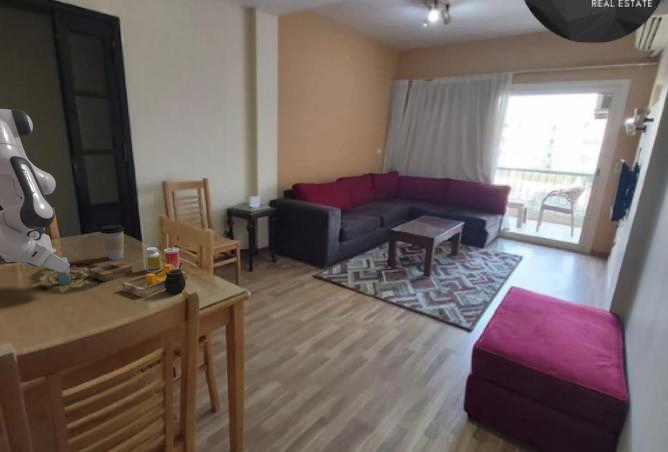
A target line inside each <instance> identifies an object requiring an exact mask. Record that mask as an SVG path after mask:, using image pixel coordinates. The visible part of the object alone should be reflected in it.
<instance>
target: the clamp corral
mask: <svg viewBox="0 0 668 452" xmlns="http://www.w3.org/2000/svg"><path fill="white" fill-rule="evenodd" d="M163 270H164V267H163V268H160V270H157V271H154V272H150V273H151V274H155V275H156V276H157V275H158V274H159V273H161V272H163ZM147 274H148V273H146V274H144V275H140V276H138V277H135V278H133V279H129V280H126V281H124V282H122V283H121V286H122V291H123V292H126V293H130V294H131V295H135V296H138V297H139V298H145V297H148V296H150V295H152V294H154V293H157V292H160V291H162V290H164V289H165V286H164V284H165V280H166V279H165V280H162V281H159V282H157V283H154V284H152V285H149V286H147V285H146V284H147V283H146V275H147ZM182 274H183V277H184V279H185V281H186V280H188V273H187V272H186V271H184V270H182ZM142 285H146V286H144V287H141V286H142ZM165 290H166V289H165Z"/></svg>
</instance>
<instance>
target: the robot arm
mask: <svg viewBox="0 0 668 452" xmlns="http://www.w3.org/2000/svg"><path fill="white" fill-rule="evenodd" d="M33 127H34V124H33V121H32V119H31V117H30V116H29V115H28V114H27V112H25V111H24V110H22V109H18V108H12V109H8V108H0V206H1V208H3V209H1V210H0V257H1V258H2V259H3V261H4V262H5V263H14V262H15V263H18V264H20V265H22V266H25V267H26V266H27V267H28V266H30V267H37V268H38V267H39V268H40V267H42V268H46V269H49V270H52V271H55V272H61V273H65V272H66V273H69V272H70V273H71V268H70V266H71V264H70V263H69V262H68V263H67V262H66V261H64V260H63V259H61V258H62V257H60V256H57V255H56V254H54V253H56V252H57V249H56V248H53V246H52V242H51V238H50V236H49V235H48V234H46V229H45V228H47V227H49V226H51V225H52V223H53V222H54V220H55V216H56V215H55V214H56V213H55V210H54V207H53V206H52V204H51V203H50V201H49V200H48V199H47V197H46V195H50V194H52V193H54V191H55V189H56V187H57V186H56V185H57V182H56V179H55V177H53V175H52V174H50V173H49V172H46V171H45V170H42V169H40V168H38V167H37V166H35V164H33V163H32V162H31V161H30V159H29V158H28V157H27V154H26V152H25V149H24V147H23V146H24V145H23V143H22V140H21V139H22V138H27V137H30V136H31V135H32V134H33V129H34V128H33ZM21 198H22V199H21Z"/></svg>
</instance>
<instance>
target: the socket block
mask: <svg viewBox="0 0 668 452" xmlns="http://www.w3.org/2000/svg"><path fill="white" fill-rule="evenodd" d="M88 274H89V275H88V276H89V277H91V278H93V279H96V280H99V281H102V282H105V283H107V282H110V281H113V280H116V279H119V278H121V277H125V276H128V275H130V274H133V267H132V265H129V264H126V263H122V262H119V261H112V262H108V263H105V264H102V265H98V266H95V267H92V268H88Z"/></svg>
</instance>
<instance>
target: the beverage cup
mask: <svg viewBox="0 0 668 452" xmlns="http://www.w3.org/2000/svg"><path fill="white" fill-rule="evenodd" d="M169 242H170V243H169V244H170V247H167V248H164V249H163V253H164V257H165V265H166V264H171V265H173V269H178V268H179V266H180V253H179V252H180V248H179V247H173V246H172V245H173V244H172V238H169Z"/></svg>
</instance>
